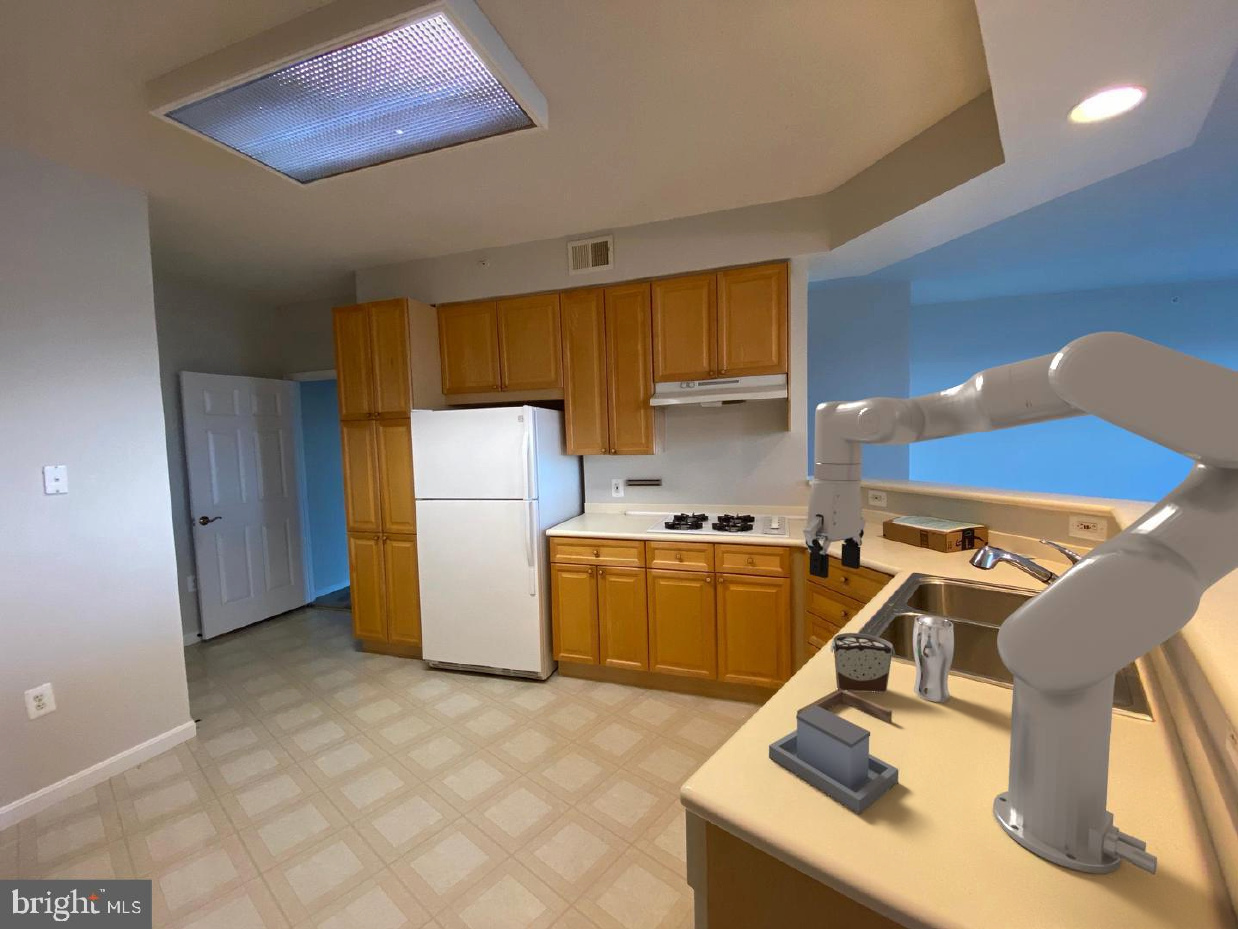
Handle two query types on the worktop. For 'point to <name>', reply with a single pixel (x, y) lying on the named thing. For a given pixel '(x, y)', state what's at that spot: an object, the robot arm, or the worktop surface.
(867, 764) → the caddy
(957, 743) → the worktop surface
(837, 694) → the frame
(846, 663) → the food container
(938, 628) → the beer glass
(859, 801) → the tray
